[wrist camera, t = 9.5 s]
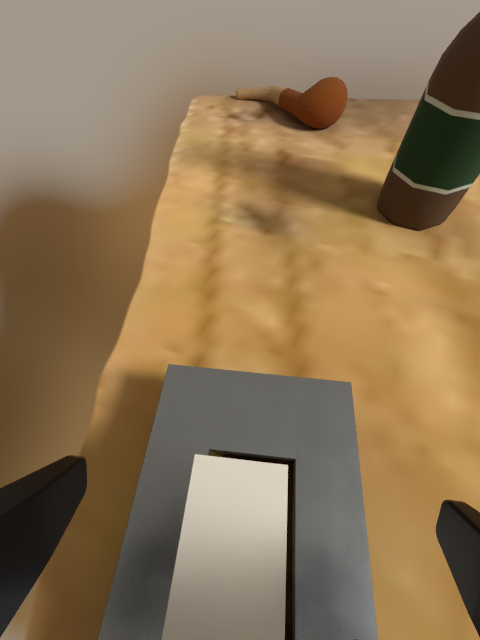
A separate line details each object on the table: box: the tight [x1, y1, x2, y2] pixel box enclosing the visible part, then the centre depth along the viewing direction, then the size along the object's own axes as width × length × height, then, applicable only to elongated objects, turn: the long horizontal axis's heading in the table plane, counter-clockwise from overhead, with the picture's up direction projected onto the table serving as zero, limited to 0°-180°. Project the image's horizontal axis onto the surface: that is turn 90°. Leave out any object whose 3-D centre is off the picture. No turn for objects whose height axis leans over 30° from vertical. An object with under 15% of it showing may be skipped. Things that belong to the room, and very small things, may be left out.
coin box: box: [98, 364, 378, 640], centre depth 15 cm, size 16×11×4 cm
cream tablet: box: [162, 454, 288, 640], centre depth 12 cm, size 4×2×12 cm, turn 174°
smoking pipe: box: [236, 77, 347, 129], centre depth 44 cm, size 7×18×6 cm, turn 59°
